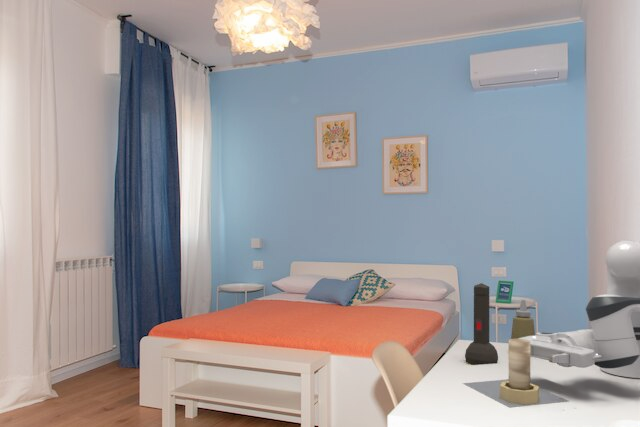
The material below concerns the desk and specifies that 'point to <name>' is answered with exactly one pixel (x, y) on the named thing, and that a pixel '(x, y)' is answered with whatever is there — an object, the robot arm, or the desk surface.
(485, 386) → the socket board
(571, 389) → the desk surface
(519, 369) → the ash peg
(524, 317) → the squeeze bottle
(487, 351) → the flashlight
